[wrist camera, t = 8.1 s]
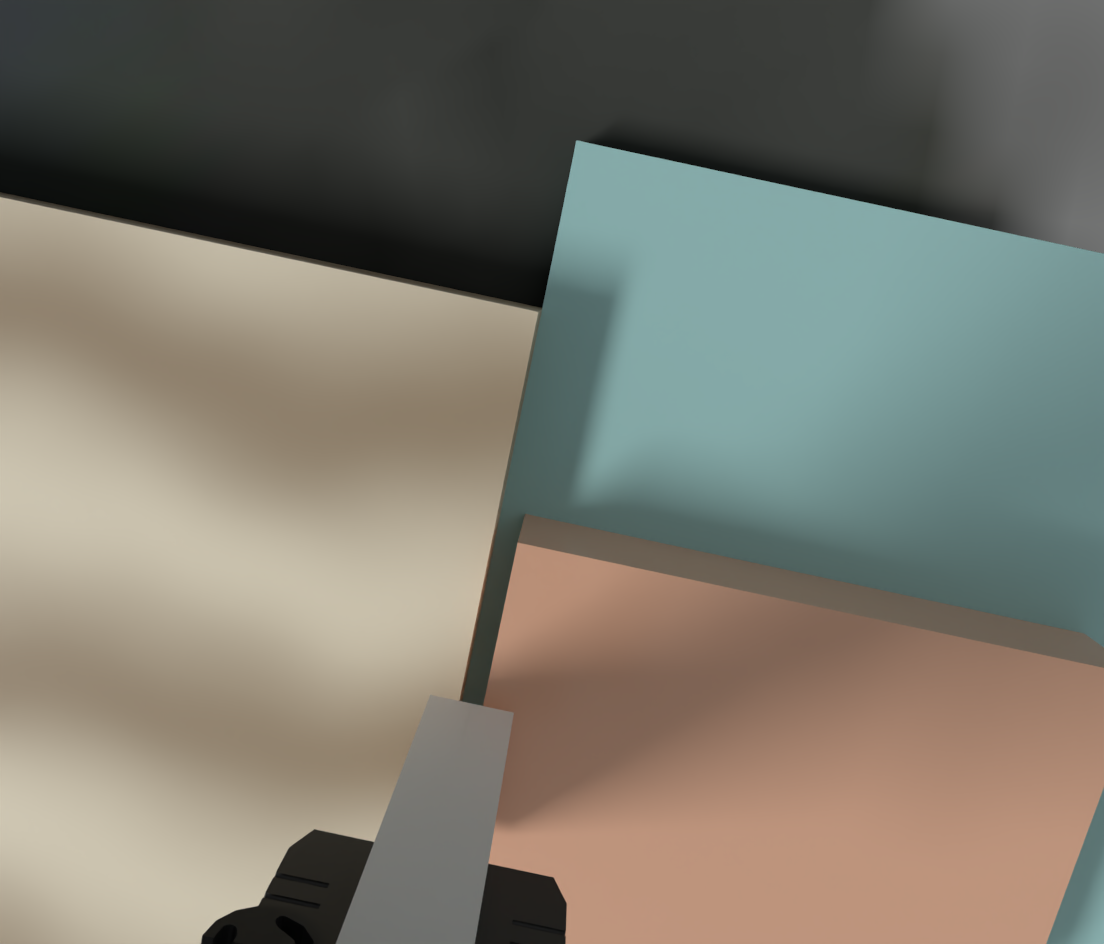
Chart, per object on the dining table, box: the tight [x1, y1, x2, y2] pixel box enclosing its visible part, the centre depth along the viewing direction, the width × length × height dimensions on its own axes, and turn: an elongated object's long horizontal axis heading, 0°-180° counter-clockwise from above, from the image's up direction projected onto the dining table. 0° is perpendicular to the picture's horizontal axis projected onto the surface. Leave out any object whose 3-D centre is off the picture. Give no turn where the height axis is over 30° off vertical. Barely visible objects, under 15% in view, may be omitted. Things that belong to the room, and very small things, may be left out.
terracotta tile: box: [483, 514, 1104, 944], centre depth 18 cm, size 8×11×2 cm
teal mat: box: [462, 141, 1104, 944], centre depth 19 cm, size 22×14×1 cm, turn 168°
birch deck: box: [0, 192, 542, 944], centre depth 18 cm, size 16×14×2 cm
